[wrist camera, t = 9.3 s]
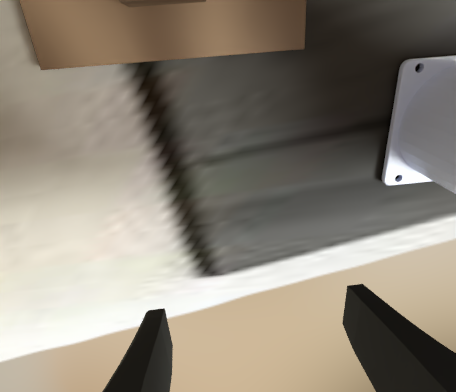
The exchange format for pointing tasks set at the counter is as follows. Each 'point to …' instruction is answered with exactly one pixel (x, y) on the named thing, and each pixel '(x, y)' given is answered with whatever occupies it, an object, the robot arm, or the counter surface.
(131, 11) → the holder board
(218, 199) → the counter surface
